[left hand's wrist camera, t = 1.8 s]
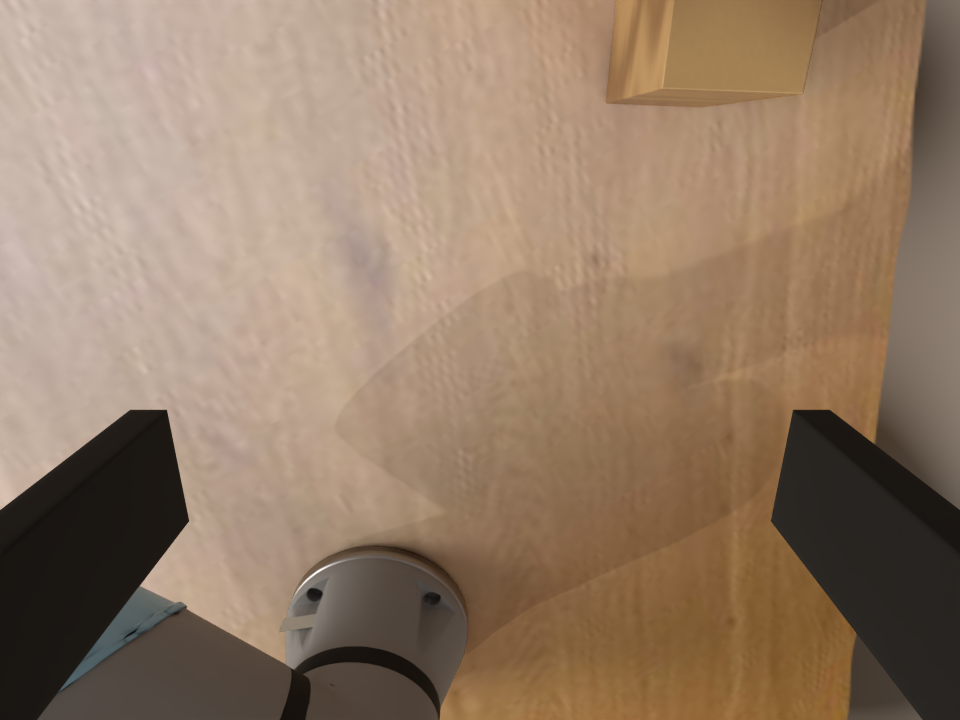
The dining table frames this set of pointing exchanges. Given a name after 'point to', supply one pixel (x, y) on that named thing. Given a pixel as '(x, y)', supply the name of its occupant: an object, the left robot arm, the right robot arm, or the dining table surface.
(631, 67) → the box
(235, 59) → the dining table surface
